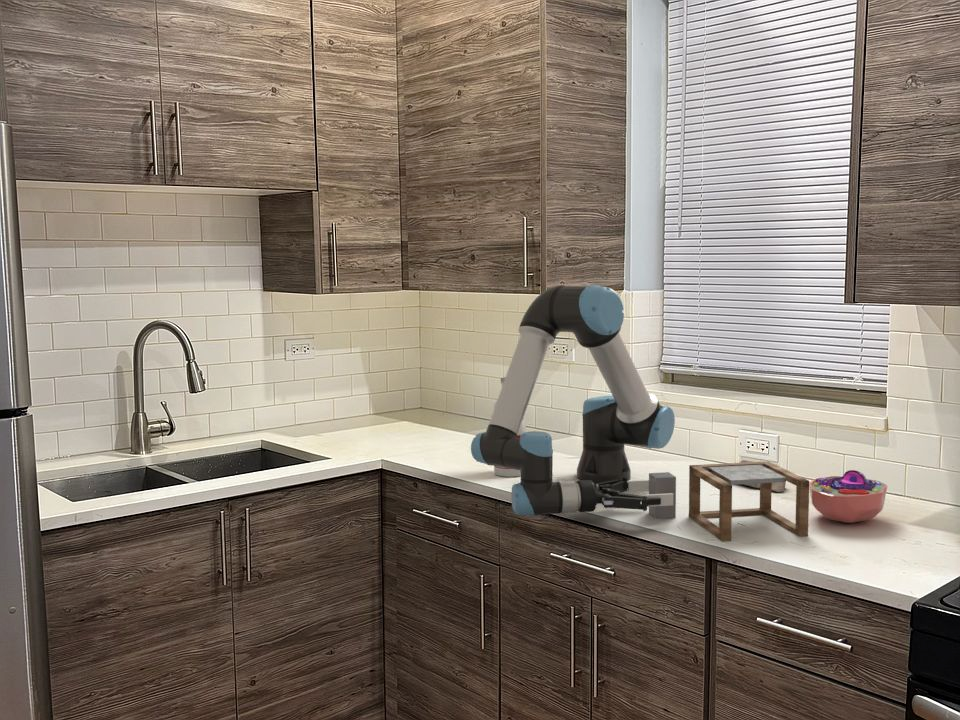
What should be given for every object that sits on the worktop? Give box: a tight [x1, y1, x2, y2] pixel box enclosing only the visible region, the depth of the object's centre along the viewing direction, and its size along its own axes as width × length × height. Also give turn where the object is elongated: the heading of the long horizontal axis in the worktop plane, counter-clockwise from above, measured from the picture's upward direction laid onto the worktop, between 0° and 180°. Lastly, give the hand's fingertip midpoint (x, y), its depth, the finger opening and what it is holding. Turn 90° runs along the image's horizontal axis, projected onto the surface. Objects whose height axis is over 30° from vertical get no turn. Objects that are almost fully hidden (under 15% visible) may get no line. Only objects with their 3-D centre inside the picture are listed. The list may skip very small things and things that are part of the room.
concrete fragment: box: [739, 459, 787, 493], centre depth 251 cm, size 8×16×7 cm, turn 39°
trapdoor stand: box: [688, 460, 810, 542], centre depth 215 cm, size 20×20×12 cm
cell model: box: [809, 469, 888, 524], centre depth 219 cm, size 17×20×11 cm
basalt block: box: [648, 471, 677, 520], centre depth 224 cm, size 5×5×10 cm
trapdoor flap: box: [705, 465, 787, 486], centre depth 215 cm, size 14×14×1 cm
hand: (663, 492), depth 224 cm, fingers open, 13 cm apart
